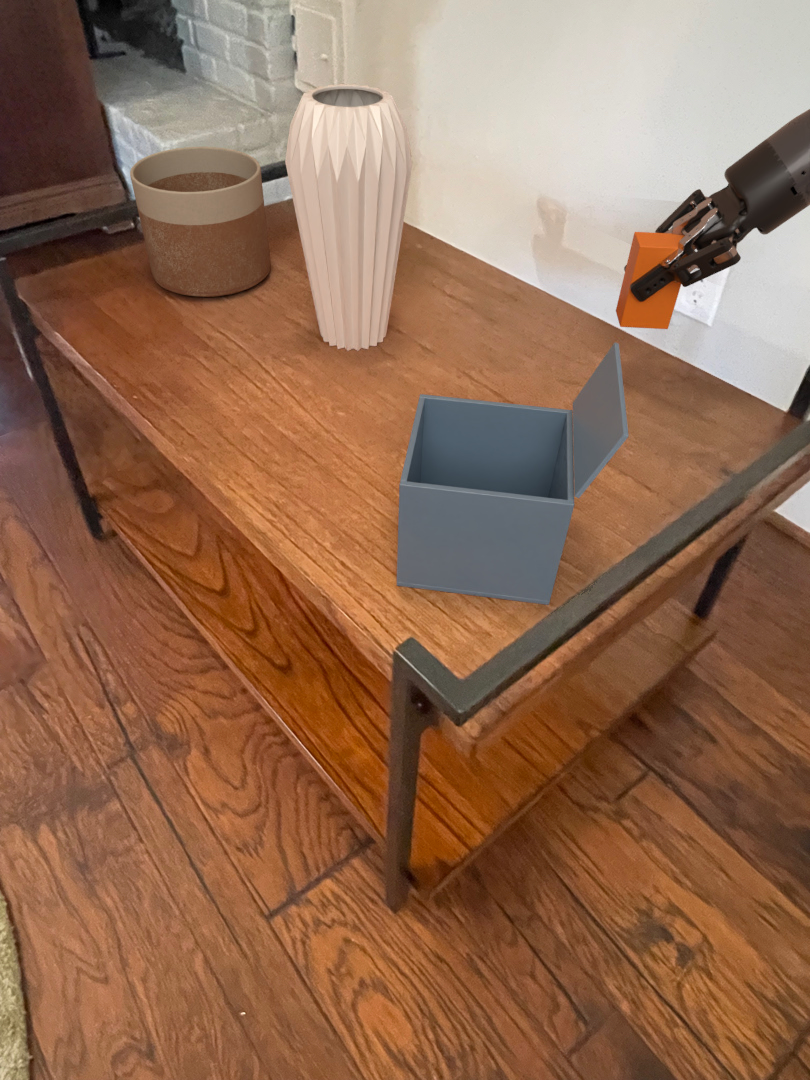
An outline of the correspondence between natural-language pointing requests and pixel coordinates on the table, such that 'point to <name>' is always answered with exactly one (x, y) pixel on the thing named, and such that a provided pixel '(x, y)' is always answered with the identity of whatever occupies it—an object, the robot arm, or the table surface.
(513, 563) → the blue box
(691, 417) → the table surface
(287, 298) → the table surface
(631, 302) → the block
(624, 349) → the table surface
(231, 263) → the planter
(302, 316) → the table surface
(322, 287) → the vase
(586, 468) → the gray box lid
